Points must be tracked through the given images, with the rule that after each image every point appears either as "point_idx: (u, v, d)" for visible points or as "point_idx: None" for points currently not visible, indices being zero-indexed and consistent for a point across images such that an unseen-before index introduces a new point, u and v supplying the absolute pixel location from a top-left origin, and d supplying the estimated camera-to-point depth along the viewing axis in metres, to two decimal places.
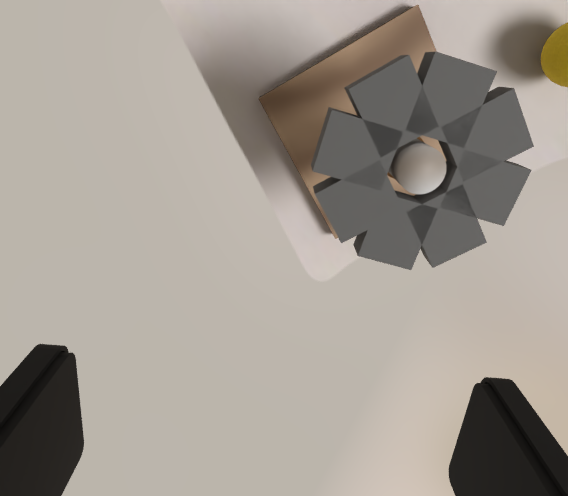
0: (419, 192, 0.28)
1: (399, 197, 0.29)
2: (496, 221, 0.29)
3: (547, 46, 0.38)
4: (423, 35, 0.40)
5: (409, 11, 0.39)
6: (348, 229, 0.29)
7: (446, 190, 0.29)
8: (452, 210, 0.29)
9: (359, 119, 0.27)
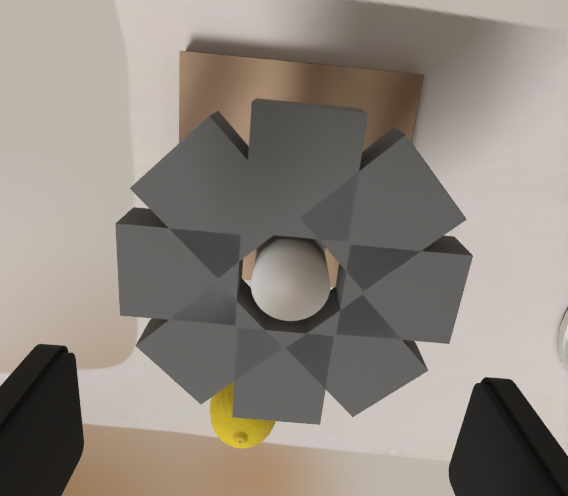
0: (260, 267, 0.17)
1: (269, 236, 0.16)
2: (148, 340, 0.18)
3: None
4: None
5: None
6: (269, 130, 0.15)
7: (237, 299, 0.18)
8: (201, 295, 0.17)
9: (424, 247, 0.16)
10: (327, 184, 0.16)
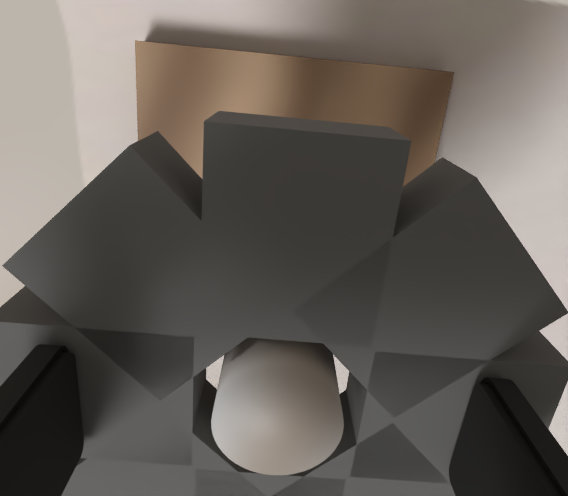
0: (225, 399, 0.10)
1: (242, 337, 0.10)
2: None
3: None
4: None
5: None
6: (236, 169, 0.08)
7: (194, 427, 0.11)
8: (136, 425, 0.11)
9: (495, 354, 0.10)
10: (338, 259, 0.09)
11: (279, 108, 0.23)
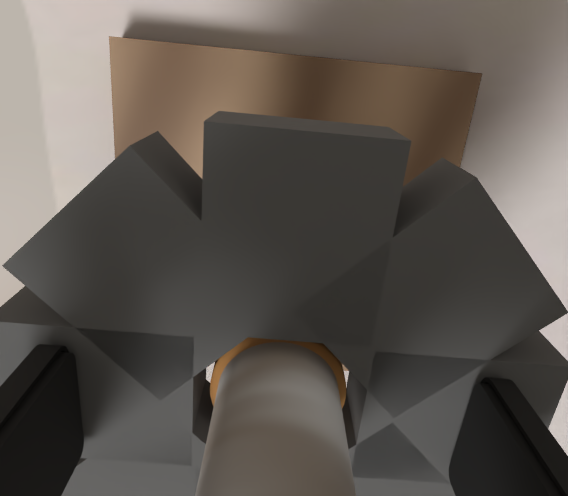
0: None
1: (242, 337, 0.10)
2: None
3: None
4: None
5: None
6: (236, 169, 0.08)
7: (194, 427, 0.11)
8: (136, 425, 0.11)
9: (494, 354, 0.10)
10: (338, 259, 0.09)
11: (278, 115, 0.20)
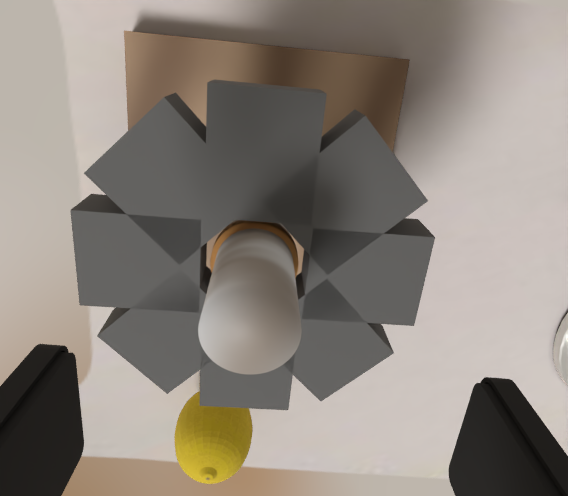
0: (208, 310, 0.13)
1: (231, 221, 0.16)
2: (110, 330, 0.18)
3: None
4: None
5: None
6: (226, 111, 0.15)
7: (200, 286, 0.17)
8: (163, 283, 0.17)
9: (386, 229, 0.16)
10: (287, 167, 0.15)
11: None
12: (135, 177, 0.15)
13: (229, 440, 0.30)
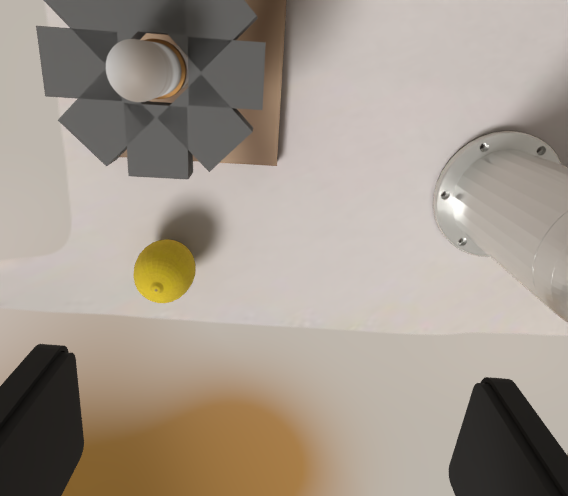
0: (110, 55, 0.23)
1: (136, 33, 0.26)
2: (65, 115, 0.27)
3: (184, 249, 0.42)
4: (250, 158, 0.41)
5: (275, 156, 0.41)
6: None
7: None
8: (97, 78, 0.27)
9: (233, 36, 0.26)
10: None
11: None
12: (74, 2, 0.25)
13: (172, 264, 0.40)
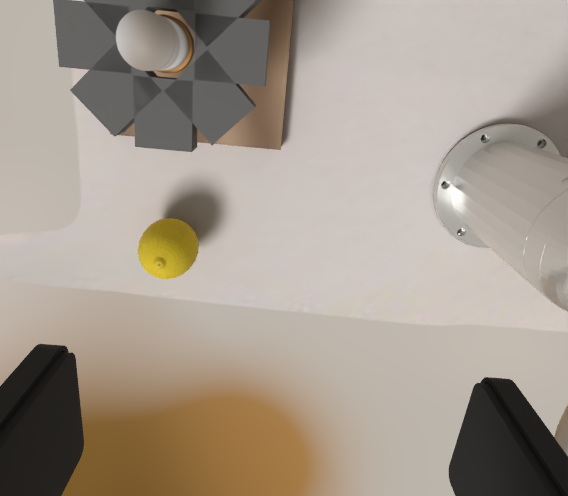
0: (120, 25, 0.24)
1: (147, 8, 0.27)
2: (77, 85, 0.29)
3: (188, 227, 0.44)
4: (255, 141, 0.42)
5: (280, 140, 0.42)
6: None
7: None
8: (108, 51, 0.28)
9: (239, 14, 0.27)
10: None
11: None
12: None
13: (176, 241, 0.41)
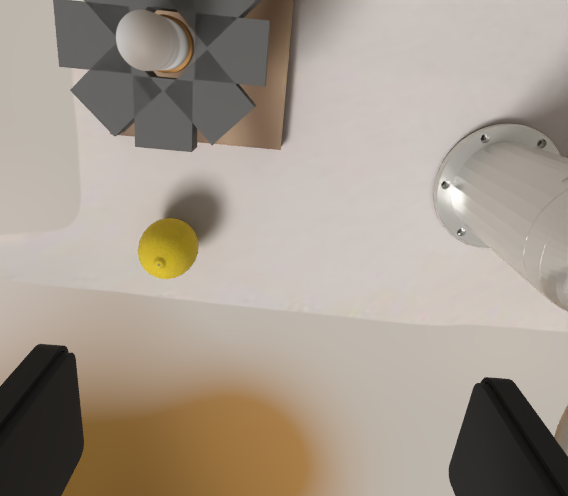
0: (120, 25, 0.24)
1: (147, 8, 0.27)
2: (77, 85, 0.29)
3: (188, 227, 0.44)
4: (255, 141, 0.42)
5: (280, 140, 0.42)
6: None
7: None
8: (108, 51, 0.28)
9: (239, 14, 0.27)
10: None
11: None
12: None
13: (176, 241, 0.41)
